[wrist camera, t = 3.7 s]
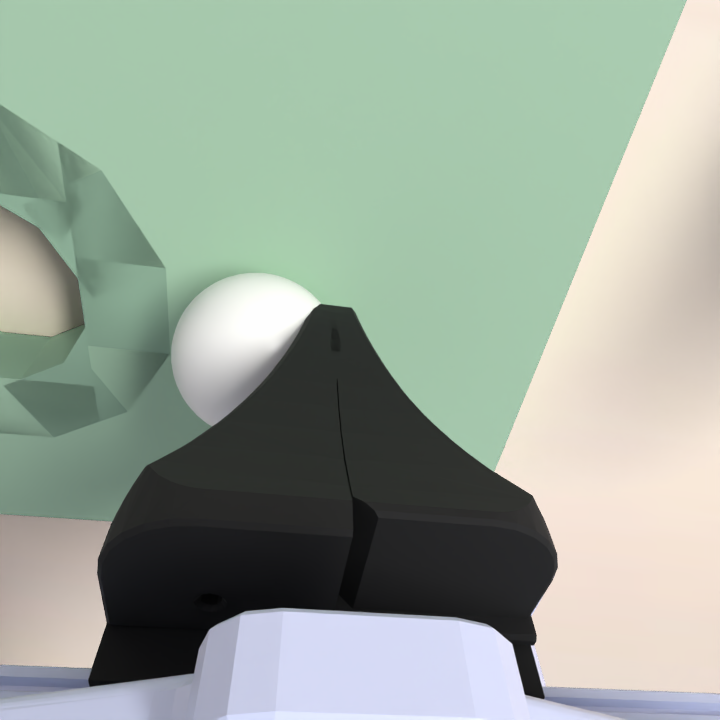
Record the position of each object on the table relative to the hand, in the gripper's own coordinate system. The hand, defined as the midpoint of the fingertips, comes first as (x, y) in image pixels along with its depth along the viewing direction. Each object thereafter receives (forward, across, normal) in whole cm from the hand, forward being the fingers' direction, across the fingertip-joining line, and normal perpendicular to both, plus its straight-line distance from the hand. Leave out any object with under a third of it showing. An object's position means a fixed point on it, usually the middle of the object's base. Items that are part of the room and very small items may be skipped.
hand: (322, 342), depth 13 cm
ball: (0, +1, 0) cm, 1 cm away
